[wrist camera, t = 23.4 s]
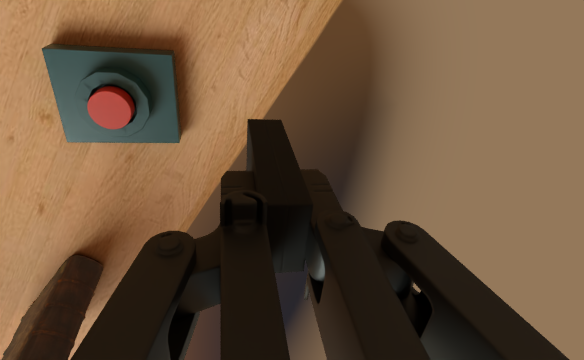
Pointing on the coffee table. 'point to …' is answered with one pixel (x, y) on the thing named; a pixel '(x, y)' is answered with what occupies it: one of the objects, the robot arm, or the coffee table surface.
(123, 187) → the coffee table surface
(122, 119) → the button
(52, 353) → the book
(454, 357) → the robot arm
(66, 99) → the control block
